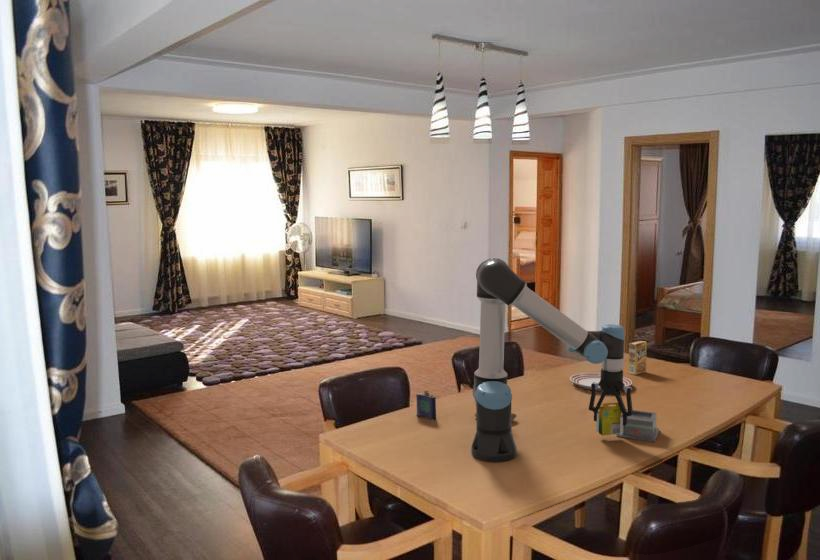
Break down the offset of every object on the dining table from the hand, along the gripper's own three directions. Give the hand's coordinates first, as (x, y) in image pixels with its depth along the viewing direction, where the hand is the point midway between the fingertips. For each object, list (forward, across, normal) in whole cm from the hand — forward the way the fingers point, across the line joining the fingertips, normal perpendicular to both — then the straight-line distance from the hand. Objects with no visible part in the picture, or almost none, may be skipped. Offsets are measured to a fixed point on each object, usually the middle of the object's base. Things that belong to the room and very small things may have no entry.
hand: (609, 431), depth 229 cm
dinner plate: (+3, +16, -67) cm, 69 cm away
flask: (+4, +70, +5) cm, 70 cm away
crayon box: (+1, 0, 0) cm, 1 cm away
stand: (+3, -8, -10) cm, 13 cm away
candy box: (+2, +4, -97) cm, 97 cm away
